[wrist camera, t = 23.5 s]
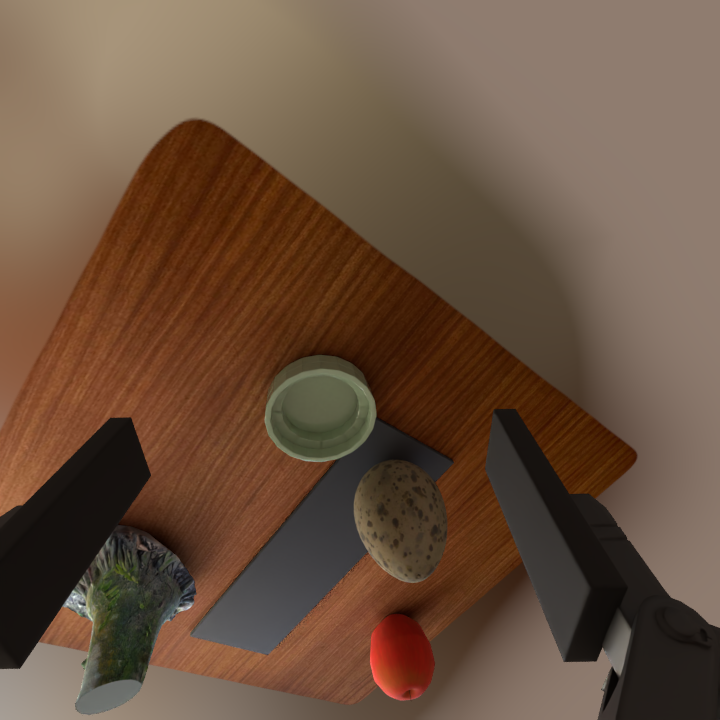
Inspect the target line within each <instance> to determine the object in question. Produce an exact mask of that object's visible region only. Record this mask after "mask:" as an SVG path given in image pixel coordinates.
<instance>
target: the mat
mask: <svg viewBox="0 0 720 720" xmlns="http://www.w3.org/2000/svg"><path fill="white" fill-rule="evenodd" d="M387 460H403V461H407V462H410V463H413V464H415V465H417V466H418V467H420V468H421V469H423V470H424V471H425V472H426V473H427V474H428V475H429V476H430V477H431V478H432V479H433V481H434V482H436V481H437V480H438V479H439V478H440V476H441V475H442V474H443V473H444V472H445V471H446V470H447V469H448V468H449V467H450V466H451V465H452V464H453V463H454V462H453V460H452V459H450V458H448V457H446V456H445V455H443V454H441V453H439V452H437V451H436V450H434V449H432V448H430V447H429V446H427V445H425V444H423V443H421V442H420V441H418V440H416V439H414V438H413V437H411V436H409V435H407V434H405V433H404V432H402V431H400V430H398V429H397V428H395V427H393V426H391V425H389V424H388V423H386V422H384V421H382V420H381V419H379V418H377V417H376V419H375V423H374V428H373V430H372V432H371V433H370V435H369V436H368V438H367V439H366V441H365V442H364V443H363V444H362V445H360V446H359V447H358V448H357V449H356V450H355V451H353V452H352V453H349V454H347V455H345V456H343V457H341V458H338V459H337V460H336V462H335V463H334V464H333V465H332V466H331V467H330V469H329V470H328V471H327V472H326V473H325V475H324V476H323V477H322V478H321V479H320V480H319V482H318V483H317V484H316V485H315V486H314V488H313V489H312V490H311V491H310V492H309V493H308V495H307V496H306V497H305V498H304V499H303V501H302V502H301V503H300V504H299V505H298V506H297V508H296V509H295V510H294V511H293V512H292V514H291V515H290V516H289V517H288V518H287V519H286V521H285V522H284V523H283V524H282V525H281V527H280V528H279V529H278V530H277V531H276V532H275V534H274V535H273V536H272V537H271V538H270V540H269V541H268V542H267V543H266V544H265V545H264V547H263V548H262V549H261V550H260V551H259V553H258V554H257V555H256V556H255V557H254V558H253V560H252V561H251V562H250V563H249V564H248V565H247V567H246V568H245V569H244V570H243V571H242V573H241V574H240V575H239V576H238V577H237V578H236V580H235V581H234V582H233V583H232V584H231V586H230V587H229V588H228V589H227V590H226V591H225V593H224V594H223V595H222V596H221V597H220V599H219V600H218V601H217V602H216V603H215V604H214V606H213V607H212V608H211V609H210V610H209V612H208V613H207V614H206V615H205V616H204V617H203V619H202V620H201V621H200V622H199V623H198V625H197V626H196V627H195V628H194V629H193V630H192V632H191V634H190V636H191V637H195V638H199V639H203V640H208V641H212V642H216V643H220V644H224V645H228V646H233V647H237V648H241V649H245V650H249V651H253V652H258V653H262V654H266V655H268V654H269V653H270V652H271V651H272V650H273V649H274V648H275V647H276V646H277V645H278V644H279V643H280V642H281V641H282V640H283V639H284V638H285V637H286V636H287V635H288V634H289V632H290V631H291V630H292V629H293V628H294V627H295V626H296V625H297V624H298V623H299V622H300V621H301V620H302V619H303V618H304V617H305V616H306V615H307V614H308V613H309V612H310V611H311V610H312V609H313V608H314V607H315V606H316V605H317V604H318V603H319V601H320V600H321V599H322V598H323V597H324V596H325V595H326V594H327V593H328V592H329V591H330V590H331V589H332V588H333V587H334V586H335V585H336V584H337V583H338V582H339V581H340V580H341V579H342V578H343V577H344V576H345V575H346V574H347V573H348V572H349V570H350V569H351V568H352V567H353V566H354V565H355V564H356V563H357V562H358V561H359V560H360V559H361V558H362V557H363V556H364V555H365V554H366V553H367V552H368V550H367V549H366V547H365V545H364V544H363V542H362V540H361V537H360V535H359V533H358V530H357V526H356V523H355V517H354V499H355V493H356V490H357V487H358V485H359V482H360V481H361V479H362V478H363V476H364V475H365V474H366V473H367V471H368V470H370V469H371V468H372V467H373V466H375V465H377V464H379V463H381V462H383V461H387Z"/></svg>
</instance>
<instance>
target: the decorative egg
mask: <svg viewBox="0 0 720 720" xmlns="http://www.w3.org/2000/svg"><path fill="white" fill-rule="evenodd" d="M354 517H355V523H356V526H357V530H358V533H359V535H360V537H361V540H362V542H363V544H364V545H365V547H366V549H367V550H368V552H369V553H370V555H371V556H372V558H373V559H374V560H375V561H376V562H377V563H378V565H379V566H380V567H381V568H383V569H384V570H385V571H386V572H387V573H389V574H390V575H392V576H393V577H395V578H397V579H399V580H401V581H404V582H410V583H416V582H420V581H423V580H425V579H426V578H427V577H429V576H430V575H431V574H432V573H433V572H434V570H435V569H436V567H437V566H438V564H439V562H440V560H441V558H442V555H443V552H444V549H445V544H446V539H447V515H446V509H445V505H444V501H443V498H442V495H441V493H440V491H439V489H438V487H437V485H436V484H435V482H434V481H433V479H432V478H431V477H430V476H429V475H428V474H427V473H426V472H425V471H424V470H423V469H421V468H420V467H418V466H417V465H415V464H413V463H410V462H407V461H403V460H387V461H383V462H381V463H379V464H377V465H375V466H373V467H372V468H371V469H370V470H368V471H367V473H366V474H365V475H364V476H363V478H362V479H361V481H360V482H359V485H358V487H357V490H356V493H355V499H354Z"/></svg>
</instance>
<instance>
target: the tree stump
mask: <svg viewBox="0 0 720 720" xmlns="http://www.w3.org/2000/svg"><path fill="white" fill-rule="evenodd" d="M194 583H195V582H194V579H193V577H192V576H191V575H190V574H189V572H188V570H187V568H186V567H185V566H184V564H183V563H182V562H181V561H180V559H179V558H178V557H177V555H175V554H174V553H173V552H171V551H170V550H169V549H168V548H166V547H165V546H164V545H162V544H161V543H160V542H158V541H157V540H156V539H154V538H153V537H152V536H151V535H150V534H149V533H147V532H145V531H142V530H139V529H137V528H134V527H131V526H122V525H117V526H116V528H115V529H114V531H113V532H112V534H111V535H110V537H109V538H108V540H107V541H106V543H105V544H104V546H103V547H102V549H101V550H100V552H99V553H98V554H97V556H96V557H95V559H94V560H93V562H92V563H91V565H90V566H89V568H88V569H87V571H86V572H85V574H84V575H83V577H82V578H81V580H80V581H79V582H78V584H77V585H76V587H75V588H74V590H73V591H72V593H71V594H70V596H69V597H68V599H67V600H66V602H65V603H64V605H63V607H67V608H69V609H70V610H72V611H74V612H76V613H78V614H79V615H80V616H81V617H85V618H87V619H89V620H90V621H93V627H92V633H91V641H90V646H89V652H88V657H87V659H86V660H85V661H83V663H82V666H83V667H84V669H85V672H84V677H83V681H82V685H81V691H80V693H79V696H78V699H77V701H76V703H75V707H76V710H77V711H78V712H79V713H81V714H88V715H91V714H97V713H101V712H105V711H108V710H111V709H113V708H116V707H118V706H120V705H122V704H124V703H126V702H127V701H129V700H130V699H132V698H133V697H134V696H135V695H136V694H137V693H138V692H139V691H140V688H141V686H142V684H143V681H144V678H145V675H146V672H147V669H148V665H149V661H150V658H151V655H152V652H153V649H154V645H155V642H156V640H157V637H158V633H159V631H160V629H161V626H162V625H163V624H164V623H165V622H166V621H167V620H169V621H172V619H173V618H174V617H175V615H176V614H178V613H179V612H181V611H184V610H187V609H189V608H190V607H191V606H192V605H193V604H194V599H193V598H194V595H196V594H197V593H196V588H195V586H194V585H195V584H194Z"/></svg>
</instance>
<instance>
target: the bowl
mask: <svg viewBox="0 0 720 720" xmlns="http://www.w3.org/2000/svg"><path fill="white" fill-rule="evenodd" d="M376 415H377V414H376V406H375V400H374V397H373V394H372V391H371V388H370V385H369V383H368V382H367V380H366V378H365V376H364V374H363V373H362V372H361V371H360V370H359V369H358V368H357V367H355V366H354V365H353V364H352V363H350V362H348V361H346V360H343V359H341V358H339V357H335V356H326V355H315V356H310V357H304V358H301V359H299V360H297V361H295V362H293V363H291V364H289V365H287V366H286V367H285V368H284V369H283V370H282V371H281V372H280V373H279V374H278V375H277V376H276V377H275V378H274V380H273V382H272V384H271V386H270V388H269V390H268V395H267V404H266V413H265V424H266V428H267V431H268V435H269V436H270V438H271V439H272V440H273V442H274V443H275V444H276V446H277V447H278V448H279V449H281V450H282V451H284V452H285V453H287V454H288V455H290V456H292V457H295V458H298V459H301V460H304V461H316V462H324V461H329V460H334V459H338V458H341V457H343V456H345V455H347V454H349V453H352V452H353V451H355V450H356V449H357V448H358V447H359V446H360V445H362V444H363V443H364V442H365V441H366V439H367V438H368V436H369V435H370V433H371V432H372V430H373V428H374V423H375V419H376Z"/></svg>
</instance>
